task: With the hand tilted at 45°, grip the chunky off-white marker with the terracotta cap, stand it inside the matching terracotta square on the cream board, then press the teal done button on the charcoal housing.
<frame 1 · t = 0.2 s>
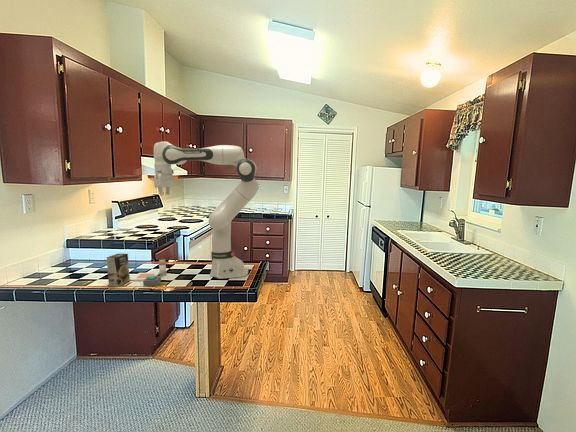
hand: (164, 195, 179), 48 cm above the counter, tool pointing down, fingers open, 8 cm apart
done button: (152, 277, 171), point 3 cm above the counter, slide at 0.0 cm
button housing: (152, 283, 172), on the counter
marker: (163, 275, 186), on the counter
picture board: (145, 277, 182), on the counter
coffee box: (119, 284, 172), on the counter
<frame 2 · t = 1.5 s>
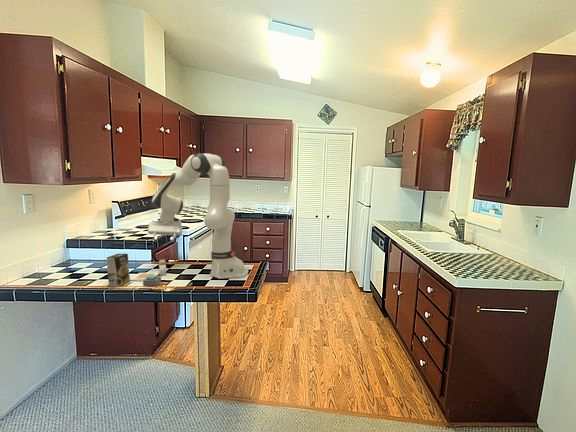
hand: (163, 240, 192), 19 cm above the counter, tool tilted 45°, fingers open, 8 cm apart
nothing on the counter moved.
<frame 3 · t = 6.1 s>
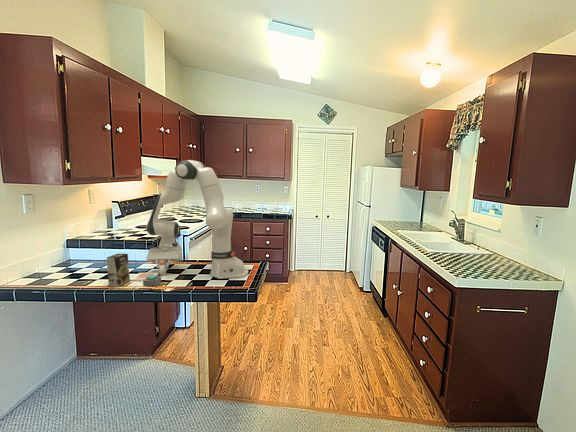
hand: (162, 267, 184), 5 cm above the counter, tool tilted 45°, fingers closed on marker, 4 cm apart
marker: (163, 275, 186), on the counter, touching gripper
everything else where it was.
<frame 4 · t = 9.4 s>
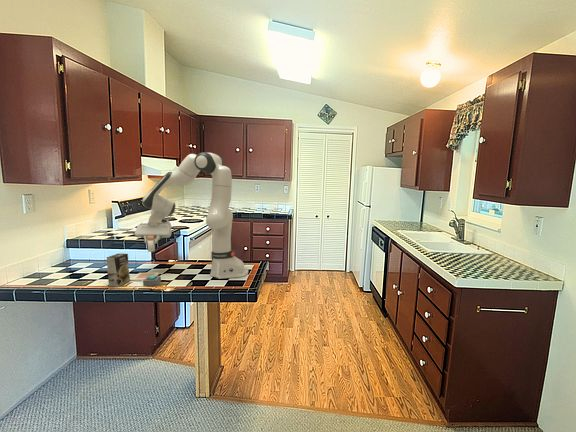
hand: (150, 243, 181), 20 cm above the counter, tool tilted 45°, fingers closed on marker, 4 cm apart
marker: (151, 251, 182), point 15 cm above the counter, touching gripper
everything else where it was.
when the fingers open (7 cm above the counter, at t = 13.0 s): marker drops 1 cm, resting on picture board.
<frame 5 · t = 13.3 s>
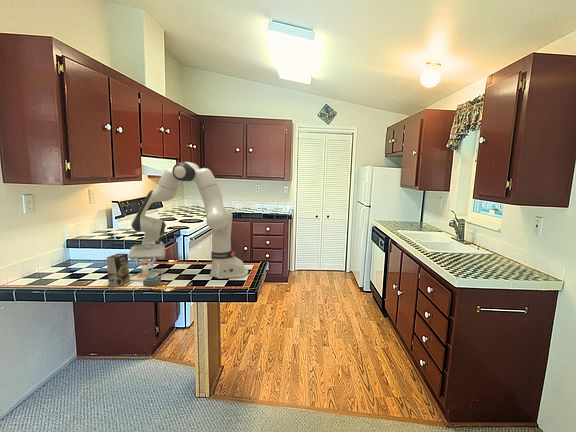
hand: (144, 265, 180), 7 cm above the counter, tool tilted 45°, fingers open, 6 cm apart
marker: (145, 275, 182), point 1 cm above the counter, touching picture board
everything else where it was.
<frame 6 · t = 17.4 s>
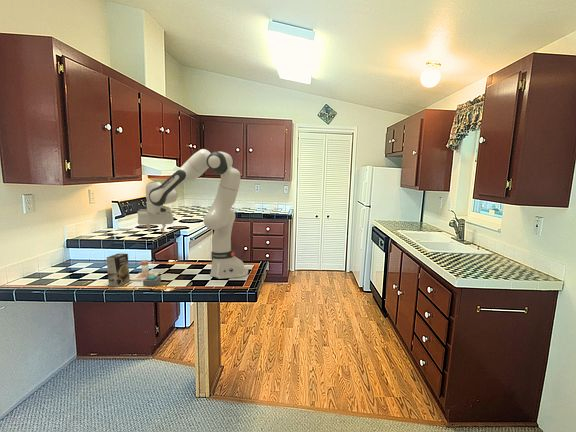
hand: (156, 231, 190), 25 cm above the counter, tool pointing down, fingers open, 6 cm apart
nothing on the counter moved.
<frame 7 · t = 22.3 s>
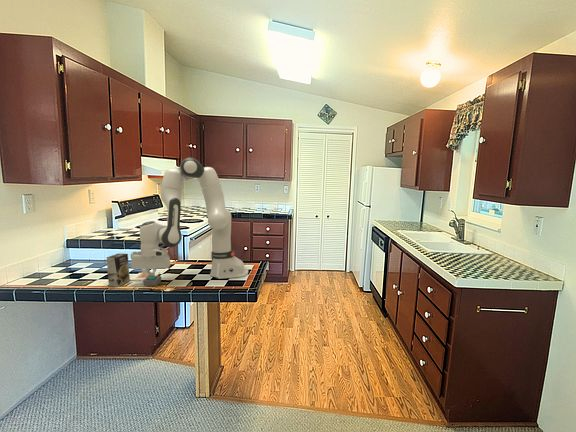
hand: (151, 276, 171), 4 cm above the counter, tool pointing down, fingers closed, pressing on done button
done button: (152, 277, 171), point 3 cm above the counter, slide at 0.0 cm, touching gripper
everything else where it was.
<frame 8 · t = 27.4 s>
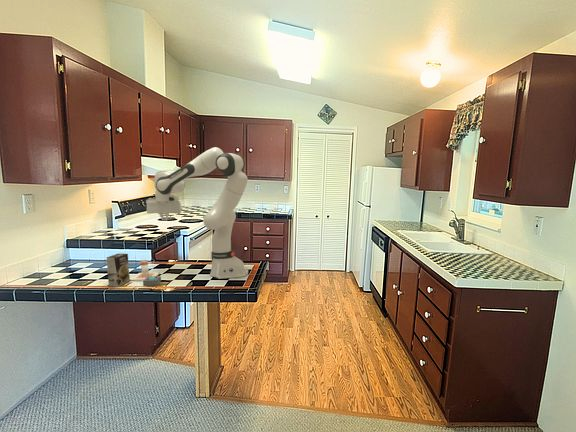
hand: (164, 220, 193), 31 cm above the counter, tool pointing down, fingers closed
done button: (152, 279, 171), point 2 cm above the counter, slide at 0.9 cm
everything else where it was.
at the end: marker 0.1 cm off-centre on the picture board, point 1.0 cm above the picture board's base; marker tilted 2°; done button slide at 0.9 cm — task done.
